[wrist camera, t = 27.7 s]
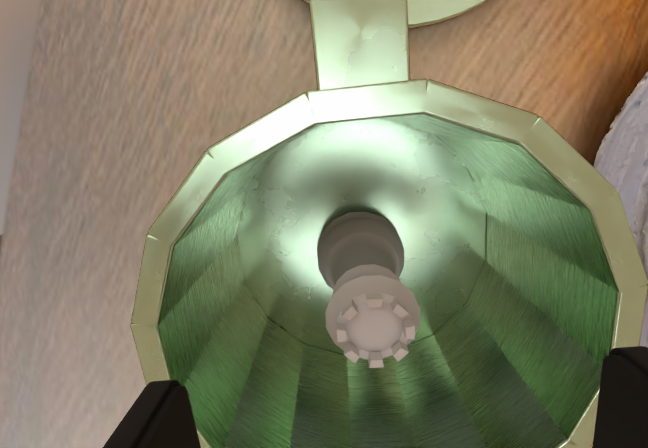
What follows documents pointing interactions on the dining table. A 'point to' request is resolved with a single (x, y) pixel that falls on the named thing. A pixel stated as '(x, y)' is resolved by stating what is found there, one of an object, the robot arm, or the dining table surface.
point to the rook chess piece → (367, 288)
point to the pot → (417, 275)
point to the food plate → (630, 170)
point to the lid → (436, 10)
